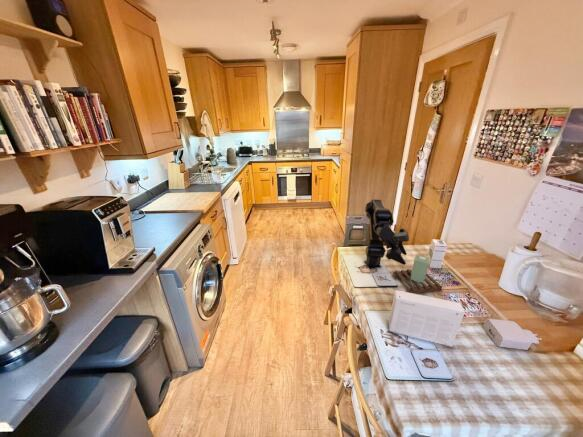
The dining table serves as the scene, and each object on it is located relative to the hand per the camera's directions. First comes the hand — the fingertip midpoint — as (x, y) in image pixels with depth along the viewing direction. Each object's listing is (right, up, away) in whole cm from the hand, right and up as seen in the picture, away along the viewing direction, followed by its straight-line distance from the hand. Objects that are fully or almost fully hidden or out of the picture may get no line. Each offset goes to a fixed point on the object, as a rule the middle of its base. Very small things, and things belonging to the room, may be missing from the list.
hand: (405, 259), depth 110 cm
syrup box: (+22, -6, +15) cm, 27 cm away
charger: (+26, -25, -27) cm, 44 cm away
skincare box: (-7, -24, -24) cm, 34 cm away
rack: (+6, -12, +1) cm, 13 cm away
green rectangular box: (+6, -9, 0) cm, 11 cm away
